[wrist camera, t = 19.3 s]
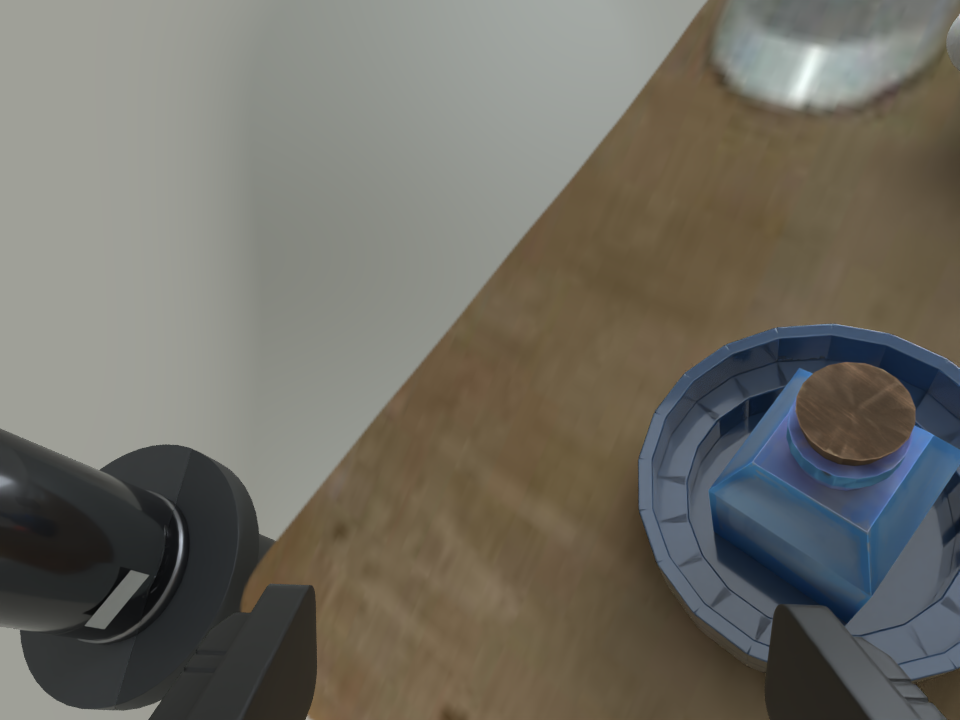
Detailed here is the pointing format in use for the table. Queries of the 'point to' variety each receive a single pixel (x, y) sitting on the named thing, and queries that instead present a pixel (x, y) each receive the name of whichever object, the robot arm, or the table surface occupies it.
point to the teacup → (954, 43)
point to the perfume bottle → (832, 483)
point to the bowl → (742, 580)
